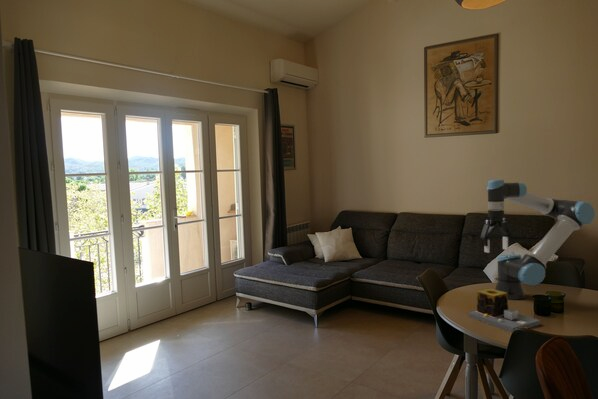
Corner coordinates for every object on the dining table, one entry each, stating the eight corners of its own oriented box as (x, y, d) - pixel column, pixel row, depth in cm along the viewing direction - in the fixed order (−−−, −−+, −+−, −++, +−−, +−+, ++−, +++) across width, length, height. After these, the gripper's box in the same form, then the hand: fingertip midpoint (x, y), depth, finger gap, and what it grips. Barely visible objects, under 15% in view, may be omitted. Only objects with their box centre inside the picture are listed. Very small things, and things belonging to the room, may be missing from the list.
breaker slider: (504, 317, 195) (504, 309, 195) (510, 315, 197) (510, 308, 197) (511, 319, 192) (511, 312, 192) (517, 318, 194) (517, 310, 193)
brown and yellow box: (494, 317, 197) (493, 296, 196) (476, 311, 206) (476, 291, 205) (508, 313, 202) (508, 292, 201) (490, 307, 211) (490, 288, 210)
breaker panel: (468, 316, 205) (468, 310, 205) (494, 310, 213) (494, 303, 213) (512, 332, 184) (512, 325, 184) (539, 324, 192) (539, 317, 191)
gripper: (484, 211, 208) (485, 254, 210) (519, 208, 219) (519, 249, 221) (472, 211, 215) (473, 252, 216) (506, 207, 226) (506, 247, 227)
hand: (496, 250), depth 219 cm, fingers open, 13 cm apart
